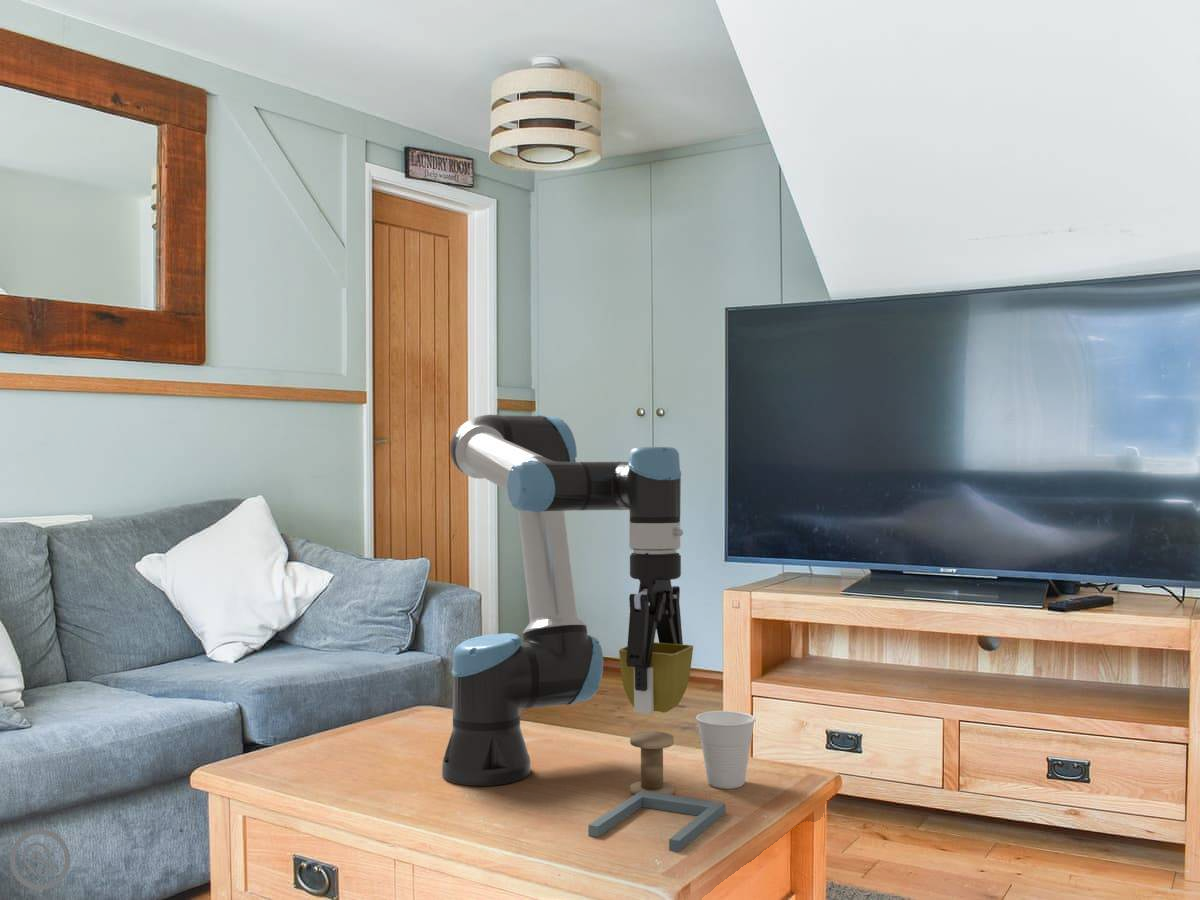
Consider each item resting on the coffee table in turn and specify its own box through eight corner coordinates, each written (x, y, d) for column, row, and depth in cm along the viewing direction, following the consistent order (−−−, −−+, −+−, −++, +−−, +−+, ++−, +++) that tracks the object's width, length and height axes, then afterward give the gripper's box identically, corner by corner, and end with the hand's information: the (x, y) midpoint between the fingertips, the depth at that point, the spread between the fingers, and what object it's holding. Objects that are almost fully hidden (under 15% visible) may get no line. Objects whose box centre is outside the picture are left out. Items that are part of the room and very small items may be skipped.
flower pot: (694, 705, 151) (694, 644, 151) (675, 717, 143) (675, 653, 143) (639, 700, 154) (639, 640, 155) (617, 712, 146) (617, 649, 147)
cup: (754, 794, 163) (754, 725, 163) (693, 791, 165) (692, 723, 165) (757, 777, 173) (757, 712, 173) (699, 773, 175) (699, 709, 175)
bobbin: (623, 795, 163) (622, 739, 163) (641, 784, 169) (641, 729, 169) (663, 802, 159) (662, 744, 160) (680, 789, 166) (680, 734, 166)
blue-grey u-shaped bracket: (679, 851, 138) (679, 840, 138) (588, 835, 144) (588, 824, 145) (725, 812, 154) (725, 803, 154) (641, 799, 160) (641, 790, 161)
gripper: (650, 557, 138) (651, 724, 138) (703, 547, 157) (705, 694, 157) (600, 555, 142) (601, 719, 141) (659, 546, 161) (660, 690, 160)
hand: (656, 706), depth 149 cm, fingers closed on flower pot, 8 cm apart
